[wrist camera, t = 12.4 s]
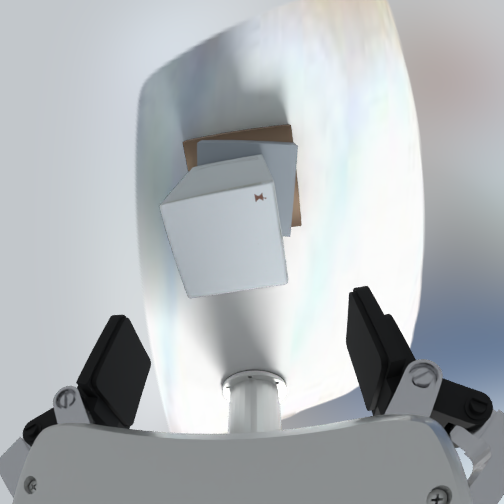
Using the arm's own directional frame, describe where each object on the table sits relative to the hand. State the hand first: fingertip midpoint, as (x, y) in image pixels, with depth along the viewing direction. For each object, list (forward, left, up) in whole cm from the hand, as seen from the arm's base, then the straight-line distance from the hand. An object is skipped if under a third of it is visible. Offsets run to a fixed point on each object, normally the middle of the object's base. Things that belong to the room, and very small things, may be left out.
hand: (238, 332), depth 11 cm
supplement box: (0, +1, -20) cm, 20 cm away
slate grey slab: (0, 0, -23) cm, 23 cm away
